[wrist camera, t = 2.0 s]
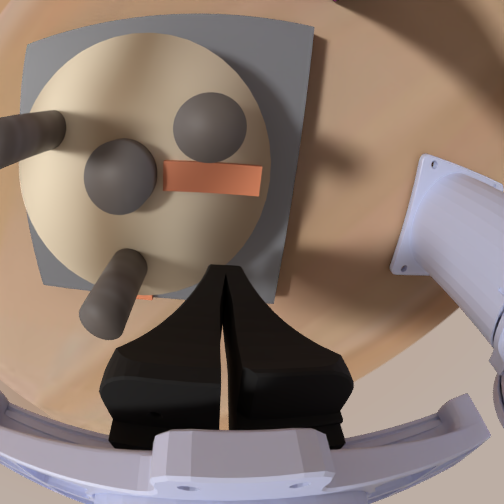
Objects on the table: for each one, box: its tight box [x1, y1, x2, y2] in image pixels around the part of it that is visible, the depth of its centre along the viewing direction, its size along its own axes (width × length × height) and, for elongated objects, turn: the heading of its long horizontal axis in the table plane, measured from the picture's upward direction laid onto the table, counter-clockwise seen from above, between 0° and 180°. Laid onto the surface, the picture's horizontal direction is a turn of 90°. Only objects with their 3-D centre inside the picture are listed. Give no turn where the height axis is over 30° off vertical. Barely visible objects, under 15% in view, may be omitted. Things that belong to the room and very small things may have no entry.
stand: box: [20, 14, 314, 304], centre depth 12 cm, size 15×15×1 cm
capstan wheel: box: [0, 33, 271, 340], centre depth 9 cm, size 12×12×6 cm
